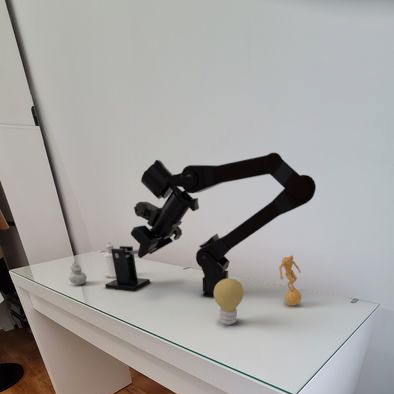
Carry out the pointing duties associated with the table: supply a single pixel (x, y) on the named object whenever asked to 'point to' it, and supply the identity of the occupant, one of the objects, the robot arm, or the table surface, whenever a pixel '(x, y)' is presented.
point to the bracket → (125, 271)
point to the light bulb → (228, 299)
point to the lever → (130, 252)
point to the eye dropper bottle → (109, 261)
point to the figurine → (293, 294)
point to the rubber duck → (77, 275)
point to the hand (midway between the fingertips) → (144, 254)
